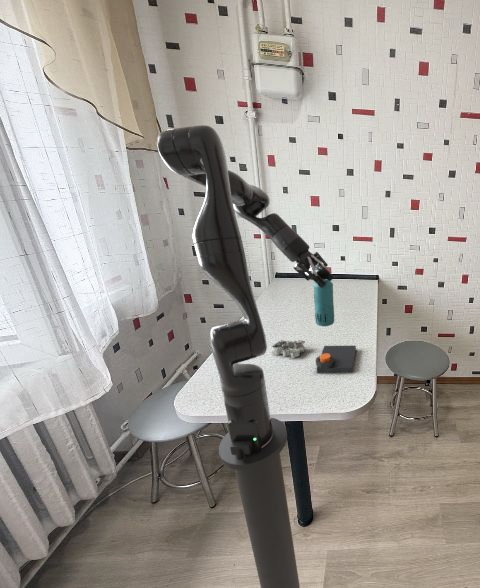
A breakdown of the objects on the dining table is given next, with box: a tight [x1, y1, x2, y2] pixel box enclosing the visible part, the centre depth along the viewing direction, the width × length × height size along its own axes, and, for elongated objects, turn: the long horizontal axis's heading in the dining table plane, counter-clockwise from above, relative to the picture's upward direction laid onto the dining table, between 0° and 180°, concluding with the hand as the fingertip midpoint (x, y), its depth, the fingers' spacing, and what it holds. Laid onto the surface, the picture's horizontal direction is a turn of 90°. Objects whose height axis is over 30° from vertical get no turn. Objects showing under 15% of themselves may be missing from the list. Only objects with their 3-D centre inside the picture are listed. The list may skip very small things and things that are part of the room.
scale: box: [315, 345, 357, 374], centre depth 121 cm, size 15×13×4 cm
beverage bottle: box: [313, 270, 335, 327], centre depth 110 cm, size 6×7×20 cm
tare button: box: [319, 353, 331, 363], centre depth 116 cm, size 4×4×2 cm
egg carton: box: [271, 339, 306, 359], centre depth 125 cm, size 11×8×4 cm
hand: (328, 282), depth 107 cm, fingers closed on beverage bottle, 6 cm apart
